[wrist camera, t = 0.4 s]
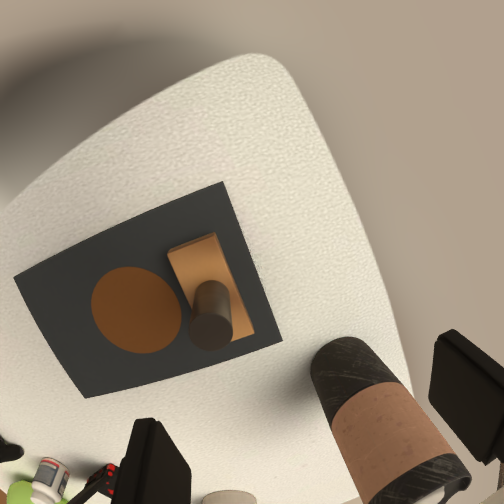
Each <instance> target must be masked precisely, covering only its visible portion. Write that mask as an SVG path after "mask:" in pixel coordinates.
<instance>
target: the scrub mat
mask: <svg viewBox="0 0 504 504" xmlns="http://www.w3.org/2000/svg"><path fill="white" fill-rule="evenodd" d="M213 232H215V233H216V236H217V238H218V241H219V243H220V246H221V248H222V251H223V253H224V256H225V258H226V261H227V263H228V266H229V268H230V271H231V273H232V276H233V278H234V281H235V283H236V285H237V288H238V290H239V293H240V295H241V298H242V300H243V303H244V305H245V307H246V310H247V312H248V315H249V317H250V319H251V322H252V324H253V328H254V334H251V335H248V336H246V337H243V338H240V339H237V340H234V341H231V342H230V343H229V344H228V345H227V346H226V347H224V348H223V349H221V350H218V351H205V350H202V349H200V348H198V347H197V346H195V345H194V344H193V343H192V341H191V340H190V337H189V333H188V329H189V323H190V318H191V312H192V308H191V306H190V304H189V302H188V300H187V298H186V296H185V294H184V291H183V289H182V287H181V285H180V283H179V281H178V278H177V276H176V274H175V272H174V269H173V267H172V265H171V263H170V260H169V258H168V256H167V253H168V252H169V250H170V249H172V248H174V247H177V246H179V245H182V244H184V243H187V242H189V241H192V240H195V239H197V238H200V237H202V236H205V235H208V234H210V233H213ZM14 280H15V282H16V284H17V286H18V289H19V291H20V293H21V295H22V297H23V299H24V301H25V303H26V305H27V307H28V309H29V311H30V312H31V314H32V316H33V318H34V320H35V322H36V324H37V325H38V327H39V329H40V331H41V332H42V334H43V336H44V338H45V339H46V341H47V343H48V344H49V346H50V348H51V349H52V351H53V353H54V354H55V356H56V357H57V359H58V360H59V362H60V364H61V365H62V367H63V368H64V370H65V371H66V373H67V374H68V375H69V377H70V378H71V380H72V381H73V383H74V384H75V386H76V387H77V388H78V390H79V391H80V392H81V394H82V395H83V397H84V398H90V397H95V396H100V395H104V394H109V393H113V392H117V391H122V390H126V389H130V388H134V387H138V386H142V385H146V384H150V383H153V382H157V381H161V380H164V379H168V378H172V377H175V376H179V375H182V374H186V373H189V372H192V371H196V370H199V369H202V368H205V367H209V366H212V365H215V364H218V363H221V362H224V361H227V360H230V359H233V358H236V357H239V356H242V355H245V354H248V353H251V352H254V351H257V350H259V349H262V348H265V347H268V346H270V345H273V344H276V343H279V342H281V341H283V340H282V337H281V334H280V332H279V329H278V326H277V324H276V321H275V318H274V316H273V313H272V311H271V308H270V305H269V303H268V300H267V297H266V295H265V292H264V289H263V287H262V284H261V281H260V279H259V276H258V273H257V271H256V268H255V265H254V263H253V260H252V258H251V255H250V252H249V250H248V247H247V244H246V242H245V239H244V236H243V234H242V231H241V228H240V226H239V223H238V220H237V218H236V215H235V212H234V210H233V207H232V204H231V202H230V199H229V196H228V194H227V191H226V188H225V186H224V183H223V181H222V182H219V183H217V184H214V185H211V186H209V187H206V188H204V189H201V190H199V191H196V192H194V193H191V194H189V195H186V196H184V197H181V198H179V199H176V200H174V201H171V202H169V203H167V204H164V205H162V206H159V207H157V208H155V209H152V210H150V211H148V212H145V213H143V214H141V215H138V216H136V217H134V218H132V219H129V220H127V221H125V222H123V223H120V224H118V225H116V226H114V227H112V228H110V229H107V230H105V231H103V232H101V233H99V234H97V235H95V236H93V237H90V238H88V239H86V240H84V241H82V242H80V243H78V244H76V245H74V246H72V247H70V248H68V249H66V250H64V251H62V252H60V253H58V254H56V255H54V256H52V257H50V258H48V259H46V260H44V261H43V262H41V263H39V264H37V265H35V266H33V267H31V268H29V269H28V270H26V271H24V272H22V273H20V274H18V275H17V276H15V277H14Z"/></svg>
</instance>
